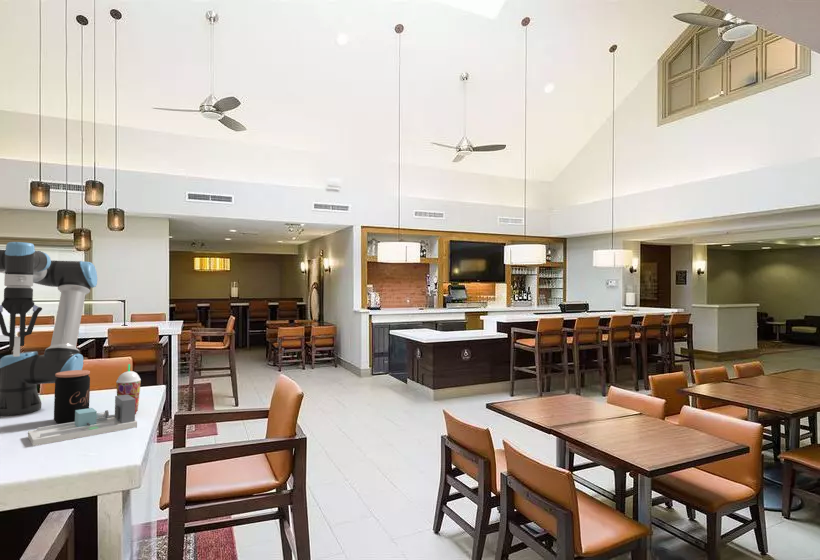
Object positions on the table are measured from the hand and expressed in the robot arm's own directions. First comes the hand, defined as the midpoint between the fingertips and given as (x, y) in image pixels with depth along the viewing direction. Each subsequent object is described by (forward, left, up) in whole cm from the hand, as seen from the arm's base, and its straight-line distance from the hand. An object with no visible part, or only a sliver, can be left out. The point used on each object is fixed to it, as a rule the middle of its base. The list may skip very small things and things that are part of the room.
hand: (16, 356), depth 154 cm
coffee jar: (-6, +17, -27) cm, 32 cm away
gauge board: (+14, +17, -26) cm, 34 cm away
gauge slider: (+15, +20, -24) cm, 35 cm away
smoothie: (0, +34, -27) cm, 43 cm away
